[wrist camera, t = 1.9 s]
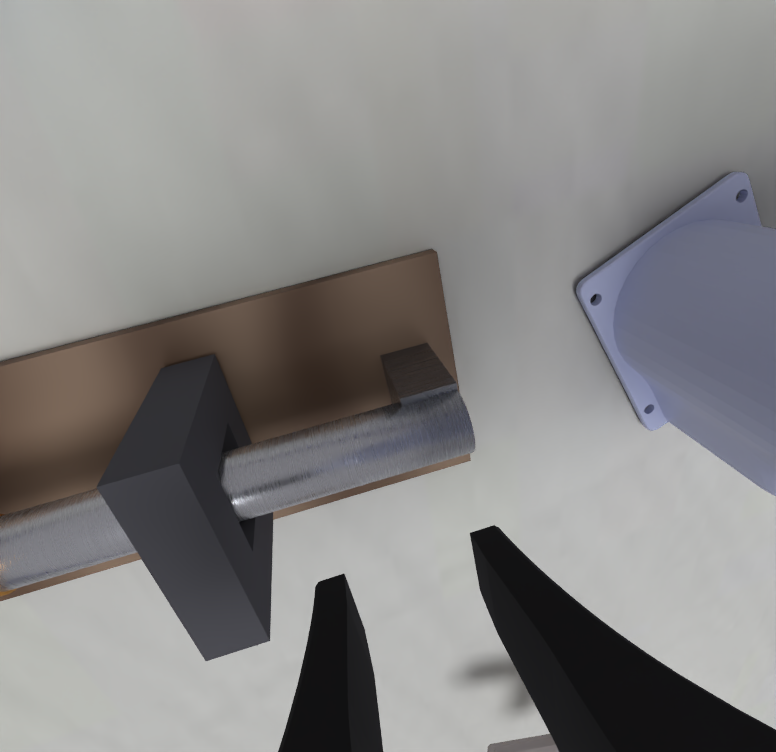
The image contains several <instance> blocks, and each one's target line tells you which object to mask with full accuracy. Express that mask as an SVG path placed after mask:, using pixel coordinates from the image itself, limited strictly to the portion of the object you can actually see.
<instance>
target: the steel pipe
mask: <svg viewBox="0 0 776 752" xmlns="http://www.w3.org/2000/svg"><path fill="white" fill-rule="evenodd" d="M380 357H381V361H382V365H383V370H384V374H385V378H386V382H387V386H388V390H389V394H390V399H391V403H392V404H390V405H387V406H383V407H380V408H376V409H373V410H369V411H366V412H362V413H359V414H355V415H352V416H348V417H345V418H341V419H338V420H334V421H331V422H327V423H324V424H320V425H317V426H313V427H310V428H306V429H303V430H299V431H296V432H292V433H289V434H285V435H282V436H278V437H275V438H271V439H268V440H264V441H261V442H257V443H254V444H250V445H247V446H243V447H240V448H236V449H233V450H229V451H226V452H222V454H221V459H220V464H219V469H218V474H217V478H218V480H219V482H220V484H221V486H222V488H223V490H224V492H225V495H226V497H227V499H228V501H229V503H230V505H231V507H232V509H233V511H234V513H235V516H236V518H237V520H238V522H241V521H244V520H247V519H251V518H254V517H258V516H261V515H264V514H268V513H271V512H274V511H278V510H281V509H284V508H288V507H291V506H294V505H298V504H301V503H305V502H308V501H311V500H315V499H318V498H321V497H325V496H328V495H331V494H335V493H338V492H341V491H345V490H348V489H351V488H355V487H358V486H362V485H365V484H368V483H372V482H375V481H378V480H382V479H385V478H388V477H392V476H395V475H398V474H402V473H405V472H409V471H412V470H415V469H419V468H422V467H425V466H429V465H432V464H435V463H439V462H442V461H445V460H449V459H452V458H456V457H459V456H462V455H466V454H469V453H472V452H474V451H475V438H474V432H473V428H472V424H471V420H470V417H469V414H468V411H467V408H466V406H465V403H464V401H463V399H462V397H461V395H460V393H459V391H458V388H457V383H456V381H455V380H454V379H453V377H452V376H451V374H450V373H449V372H448V370H447V369H446V368H445V366H444V365H443V363H442V362H441V361H440V359H439V358H438V357H437V355H436V354H435V352H434V351H433V350H432V348H431V347H430V346H429V344H428V343H423V344H419V345H416V346H412V347H409V348H405V349H401V350H398V351H394V352H391V353H387V354H383V355H380ZM133 553H137V551H136V549H135V548H134V546H133V545H132V543H131V542H130V540H129V538H128V537H127V535H126V534H125V532H124V530H123V529H122V527H121V526H120V524H119V523H118V521H117V519H116V518H115V516H114V515H113V513H112V511H111V510H110V508H109V507H108V505H107V503H106V502H105V500H104V499H103V497H102V496H101V494H100V492H99V491H98V489H97V488H96V489H93V490H89V491H86V492H82V493H79V494H75V495H72V496H68V497H65V498H61V499H58V500H54V501H51V502H47V503H44V504H40V505H37V506H33V507H30V508H26V509H23V510H19V511H16V512H12V513H9V514H0V596H4V595H7V594H10V593H12V592H13V591H15V590H16V589H17V588H19V587H23V586H26V585H29V584H33V583H36V582H39V581H43V580H46V579H50V578H53V577H56V576H60V575H63V574H66V573H70V572H73V571H76V570H80V569H83V568H86V567H90V566H93V565H97V564H100V563H103V562H107V561H110V560H113V559H117V558H120V557H123V556H127V555H130V554H133Z"/></svg>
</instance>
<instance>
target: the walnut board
mask: <svg viewBox="0 0 776 752" xmlns="http://www.w3.org/2000/svg"><path fill="white" fill-rule="evenodd" d="M423 343H428V344H429V346H430V347H431V348H432V350H433V351H434V352H435V354H436V355H437V357H438V358H439V359H440V361H441V362H442V363H443V365H444V366H445V368H446V369H447V370H448V372H449V373H450V374H451V376H452V377H453V379H454V380H455V381H456V383H457V388H458V391H459V386H458V380H457V374H456V367H455V361H454V355H453V349H452V343H451V337H450V330H449V324H448V318H447V312H446V306H445V300H444V294H443V287H442V281H441V275H440V269H439V263H438V257H437V252H436V251H434V250H433V249H431V250H427V251H423V252H419V253H416V254H412V255H408V256H404V257H400V258H397V259H393V260H389V261H385V262H381V263H377V264H374V265H370V266H366V267H362V268H358V269H354V270H351V271H347V272H343V273H339V274H335V275H331V276H328V277H324V278H320V279H316V280H312V281H308V282H305V283H301V284H297V285H293V286H289V287H286V288H282V289H278V290H274V291H270V292H266V293H263V294H259V295H255V296H251V297H247V298H243V299H240V300H236V301H232V302H228V303H224V304H220V305H217V306H213V307H209V308H205V309H201V310H197V311H194V312H190V313H186V314H182V315H178V316H175V317H171V318H167V319H163V320H159V321H155V322H152V323H148V324H144V325H140V326H136V327H132V328H129V329H125V330H121V331H117V332H113V333H109V334H106V335H102V336H98V337H94V338H90V339H86V340H83V341H79V342H75V343H71V344H67V345H63V346H60V347H56V348H52V349H48V350H44V351H41V352H37V353H33V354H29V355H25V356H21V357H18V358H14V359H10V360H6V361H2V362H0V514H9V513H12V512H16V511H19V510H23V509H26V508H30V507H33V506H37V505H40V504H44V503H47V502H51V501H54V500H58V499H61V498H65V497H68V496H72V495H75V494H79V493H82V492H86V491H89V490H93V489H96V487H97V485H98V483H99V481H100V479H101V477H102V476H103V474H104V472H105V470H106V468H107V466H108V465H109V463H110V461H111V459H112V457H113V455H114V454H115V452H116V450H117V448H118V446H119V444H120V443H121V441H122V439H123V437H124V435H125V433H126V432H127V430H128V428H129V426H130V424H131V422H132V421H133V419H134V417H135V415H136V413H137V411H138V410H139V408H140V406H141V404H142V402H143V400H144V399H145V397H146V395H147V393H148V391H149V389H150V388H151V386H152V384H153V382H154V380H155V378H156V377H157V375H158V373H159V371H160V369H161V368H164V367H168V366H171V365H175V364H179V363H183V362H186V361H190V360H194V359H197V358H201V357H205V356H209V355H212V354H215V356H216V358H217V360H218V363H219V365H220V368H221V370H222V372H223V375H224V377H225V380H226V382H227V385H228V387H229V389H230V392H231V394H232V397H233V399H234V401H235V404H236V406H237V409H238V411H239V413H240V416H241V418H242V421H243V423H244V425H245V428H246V430H247V433H248V435H249V437H250V440H251V442H252V444H254V443H257V442H261V441H264V440H268V439H271V438H275V437H278V436H282V435H285V434H289V433H292V432H296V431H299V430H303V429H306V428H310V427H313V426H317V425H320V424H324V423H327V422H331V421H334V420H338V419H341V418H345V417H348V416H352V415H355V414H359V413H362V412H366V411H369V410H373V409H376V408H380V407H383V406H387V405H390V404H392V403H391V399H390V394H389V390H388V386H387V382H386V378H385V374H384V370H383V365H382V361H381V357H380V355H383V354H387V353H391V352H394V351H398V350H401V349H405V348H409V347H412V346H416V345H419V344H423ZM459 393H460V392H459ZM467 461H471V460H470V454H466V455H462V456H459V457H456V458H452V459H449V460H445V461H442V462H439V463H435V464H432V465H429V466H425V467H422V468H419V469H415V470H412V471H409V472H405V473H402V474H398V475H395V476H392V477H388V478H385V479H382V480H378V481H375V482H372V483H368V484H365V485H362V486H358V487H355V488H351V489H348V490H345V491H341V492H338V493H335V494H331V495H328V496H325V497H321V498H318V499H315V500H311V501H308V502H305V503H301V504H298V505H294V506H291V507H288V508H284V509H281V510H278V511H274V512H273V520H274V519H277V518H280V517H284V516H287V515H290V514H294V513H297V512H300V511H304V510H307V509H310V508H314V507H317V506H320V505H324V504H327V503H330V502H334V501H337V500H340V499H344V498H347V497H350V496H354V495H357V494H360V493H364V492H367V491H370V490H374V489H377V488H380V487H384V486H387V485H390V484H394V483H397V482H401V481H404V480H407V479H411V478H414V477H417V476H421V475H424V474H427V473H431V472H434V471H437V470H441V469H444V468H447V467H451V466H454V465H457V464H461V463H464V462H467ZM140 559H141V557H140V556H139V554H138V553H133V554H130V555H127V556H123V557H120V558H117V559H113V560H110V561H107V562H103V563H100V564H97V565H93V566H90V567H86V568H83V569H80V570H76V571H73V572H70V573H66V574H63V575H60V576H56V577H53V578H50V579H46V580H43V581H39V582H36V583H33V584H29V585H26V586H23V587H19V588H17V589H16V590H15V591H13V592H12V593H10V594H7V595H4V596H0V601H3V600H6V599H10V598H13V597H16V596H20V595H23V594H26V593H30V592H33V591H36V590H40V589H43V588H46V587H50V586H53V585H56V584H60V583H63V582H66V581H70V580H73V579H76V578H80V577H83V576H86V575H90V574H93V573H97V572H100V571H103V570H107V569H110V568H113V567H117V566H120V565H123V564H127V563H130V562H133V561H137V560H140Z"/></svg>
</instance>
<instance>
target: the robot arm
mask: <svg viewBox="0 0 776 752" xmlns="http://www.w3.org/2000/svg"><path fill="white" fill-rule="evenodd" d="M739 191H740V195H739V197H738V199H737V200H736V196H737V194H738V192H739ZM576 293H577V296H578V298H579V300H580V302H581V304H582V306H583V308H584V310H585V312H586V314H587V316H588V318H589V320H590V322H591V324H592V326H593V328H594V330H595V332H596V334H597V336H598V338H599V340H600V342H601V344H602V346H603V348H604V350H605V352H606V354H607V356H608V358H609V360H610V362H611V363H612V365H613V367H614V369H615V371H616V373H617V375H618V377H619V379H620V381H621V383H622V385H623V387H624V389H625V391H626V393H627V395H628V397H629V399H630V401H631V403H632V405H633V407H634V409H635V411H636V413H637V415H638V417H639V419H640V421H641V423H642V425H643V426H644V427H645V428H647V429H648V430H651V431H652V430H656V429H658V428H660V427H661V426H663V425H664V424H666V423H667V422H670V423H671V424H673V425H674V426H675V427H677V428H678V429H680V430H681V431H682V432H684V433H685V434H687V435H688V436H689V437H691V438H692V439H694V440H695V441H696V442H698V443H699V444H701V445H702V446H703V447H705V448H706V449H708V450H709V451H710V452H712V453H713V454H714V455H716V456H717V457H719V458H720V459H721V460H723V461H724V462H726V463H727V464H728V465H730V466H731V467H733V468H734V469H735V470H737V471H738V472H740V473H741V474H742V475H744V476H745V477H746V478H748V479H749V480H751V481H752V482H753V483H755V484H756V485H758V486H759V487H760V488H762V489H764V490H765V491H767V492H769V493H771V494H772V495H775V496H776V229H774V228H768V227H763V226H761V222H760V218H759V214H758V210H757V207H756V203H755V199H754V195H753V191H752V188H751V184H750V180H749V177H748V175H747V174H746V173H744V172H732V173H730V174H728V175H727V176H725V177H724V178H723V179H721V180H720V181H718V182H717V183H716V184H714V185H713V186H712V187H710V188H709V189H707V190H706V191H705V192H703V193H702V194H700V195H699V196H698V197H696V198H695V199H693V200H692V201H691V202H689V203H688V204H686V205H685V206H684V207H682V208H681V209H680V210H678V211H677V212H675V213H674V214H673V215H671V216H670V217H668V218H667V219H666V220H664V221H663V222H661V223H660V224H659V225H657V226H656V227H654V228H653V229H652V230H650V231H649V232H647V233H646V234H645V235H643V236H642V237H641V238H639V239H638V240H636V241H635V242H634V243H632V244H631V245H629V246H628V247H627V248H625V249H624V250H622V251H621V252H620V253H618V254H617V255H615V256H614V257H613V258H611V259H610V260H609V261H607V262H606V263H604V264H603V265H602V266H600V267H599V268H597V269H596V270H595V271H593V272H592V273H590V274H589V275H588V276H586V277H585V278H583V279H582V280H581V281H580V282H579V284H578V286H577V289H576ZM594 294H596V299H595V300H594V301H593V302H592V303H590V300H591V297H592V296H593V295H594ZM647 406H648V407H647ZM646 407H647V408H646ZM645 408H646V409H645ZM470 536H471V542H472V547H473V553H474V559H475V564H476V570H477V575H478V581H479V586H480V591H481V594H482V596H483V599H484V601H485V604H486V606H487V609H488V611H489V614H490V616H491V618H492V621H493V623H494V626H495V628H496V630H497V633H498V635H499V637H500V639H501V641H502V643H503V644H504V646H505V648H506V650H507V652H508V654H509V656H510V658H511V660H512V662H513V664H514V665H515V667H516V669H517V671H518V673H519V675H520V677H521V679H522V681H523V683H524V684H525V686H526V688H527V690H528V692H529V694H530V696H531V698H532V700H533V701H534V703H535V705H536V707H537V709H538V711H539V713H540V715H541V717H542V719H543V720H544V722H545V724H546V726H547V728H548V730H549V732H550V734H551V736H552V738H553V740H554V742H555V744H556V746H557V748H558V751H559V752H776V730H775V729H773V728H772V727H770V726H768V725H766V724H764V723H762V722H761V721H759V720H757V719H755V718H753V717H751V716H749V715H748V714H746V713H744V712H742V711H740V710H738V709H737V708H735V707H733V706H732V705H730V704H728V703H726V702H725V701H723V700H721V699H720V698H718V697H716V696H715V695H713V694H711V693H710V692H708V691H706V690H705V689H703V688H701V687H699V686H698V685H696V684H694V683H693V682H691V681H689V680H688V679H686V678H684V677H683V676H681V675H679V674H678V673H676V672H675V671H673V670H672V669H670V668H669V667H667V666H665V665H664V664H662V663H661V662H659V661H658V660H656V659H655V658H653V657H652V656H650V655H649V654H647V653H646V652H644V651H643V650H641V649H640V648H639V647H637V646H636V645H634V644H633V643H631V642H630V641H628V640H627V639H626V638H624V637H623V636H621V635H620V634H619V633H617V632H616V631H615V630H613V629H612V628H611V627H609V626H608V625H607V624H605V623H604V622H603V621H601V620H600V619H599V618H598V617H596V616H595V615H594V614H592V613H591V612H590V611H589V610H587V609H586V608H585V607H584V606H582V605H581V604H580V603H579V602H577V601H576V600H575V599H574V598H573V597H571V596H570V595H569V594H568V593H567V592H565V591H564V590H563V589H562V588H561V587H560V586H559V585H557V584H556V583H555V582H554V581H553V580H552V579H550V578H549V577H548V576H547V575H546V574H545V573H544V572H543V571H542V570H540V569H539V568H538V567H537V566H536V565H535V564H534V563H533V562H532V561H531V560H530V559H529V558H528V557H527V556H526V555H525V554H524V553H523V552H522V551H521V550H520V549H519V548H517V546H516V545H515V544H514V543H513V542H512V541H511V540H510V539H509V538H508V537H507V536H506V535H505V534H504V533H503V532H502V531H501V530H500V528H499V527H496V526H490V527H487V528H484V529H481V530H478V531H475V532H472V533H470ZM278 752H383V746H382V737H381V729H380V720H379V711H378V703H377V695H376V686H375V678H374V672H373V667H372V662H371V657H370V653H369V648H368V643H367V639H366V634H365V629H364V627H363V624H362V621H361V618H360V616H359V613H358V610H357V607H356V605H355V602H354V599H353V596H352V593H351V591H350V588H349V585H348V582H347V580H346V577H345V574H342V575H338V576H335V577H332V578H329V579H326V580H323V581H320V582H318V584H317V585H316V587H315V598H314V606H313V613H312V620H311V626H310V631H309V636H308V642H307V646H306V651H305V655H304V660H303V664H302V669H301V673H300V677H299V681H298V685H297V689H296V693H295V696H294V700H293V704H292V707H291V711H290V714H289V718H288V721H287V725H286V729H285V732H284V735H283V738H282V741H281V745H280V748H279V751H278Z"/></svg>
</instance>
